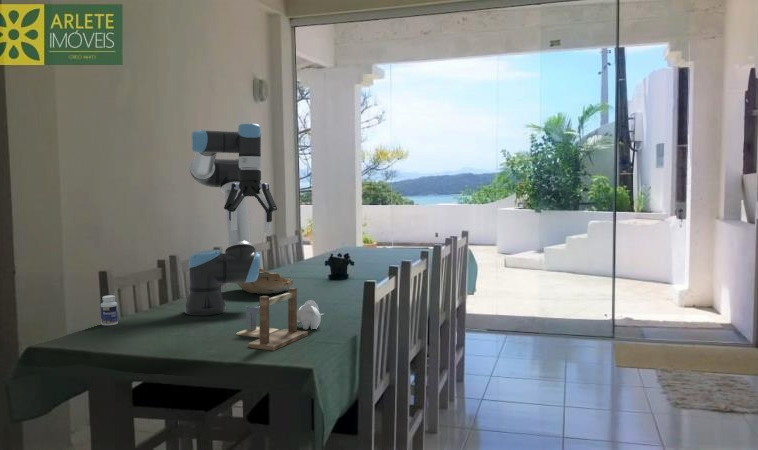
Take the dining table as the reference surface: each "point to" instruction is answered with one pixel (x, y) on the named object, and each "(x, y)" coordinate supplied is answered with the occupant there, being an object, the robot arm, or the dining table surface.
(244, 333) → the cork coaster
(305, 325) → the elephant figurine
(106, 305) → the pill bottle
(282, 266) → the dining table surface
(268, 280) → the brown wooden chunk
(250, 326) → the c link
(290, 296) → the stand
